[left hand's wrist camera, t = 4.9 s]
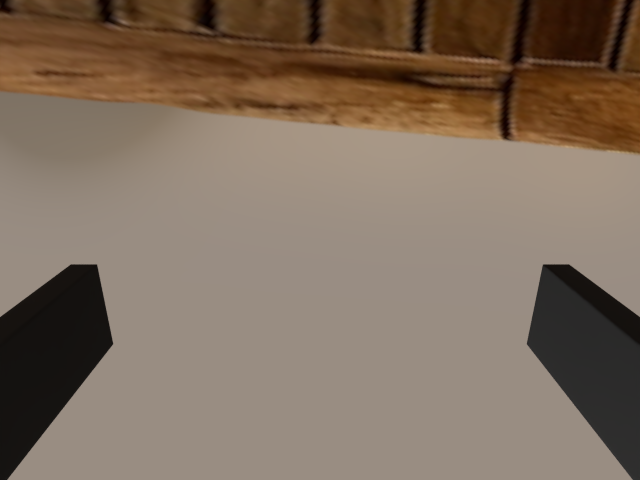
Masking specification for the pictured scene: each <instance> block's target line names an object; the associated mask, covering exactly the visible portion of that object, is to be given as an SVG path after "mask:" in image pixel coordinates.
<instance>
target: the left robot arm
mask: <svg viewBox="0 0 640 480" xmlns="http://www.w3.org/2000/svg"><path fill="white" fill-rule="evenodd" d="M112 345H113V341H112V336H111V331H110V326H109V321H108V316H107V311H106V306H105V302H104V297H103V292H102V287H101V282H100V277H99V272H98V267H97V265H70V266H68V267H67V268H66V269H64V270H63V271H62V272H60V273H59V274H58V275H56V276H55V277H54V278H52V279H51V280H50V281H48V282H47V283H45V284H44V285H43V286H41V287H40V288H39V289H37V290H36V291H35V292H33V293H32V294H31V295H29V296H28V297H27V298H25V299H24V300H23V301H21V302H20V303H19V304H17V305H16V306H15V307H13V308H12V309H11V310H9V311H8V312H7V313H5V314H4V315H2V316H1V317H0V480H7V479H8V478H9V477H10V475H11V474H12V473H13V472H14V470H15V469H16V468H17V466H18V465H19V464H20V463H21V461H22V460H23V459H24V457H25V456H26V455H27V454H28V452H29V451H30V450H31V448H32V447H33V446H34V445H35V443H36V442H37V441H38V439H39V438H40V437H41V436H42V434H43V433H44V432H45V431H46V429H47V428H48V427H49V425H50V424H51V423H52V422H53V420H54V419H55V418H56V417H57V415H58V414H59V413H60V411H61V410H62V409H63V408H64V406H65V405H66V404H67V402H68V401H69V400H70V399H71V397H72V396H73V395H74V393H75V392H76V391H77V390H78V388H79V387H80V386H81V385H82V383H83V382H84V381H85V379H86V378H87V377H88V376H89V374H90V373H91V372H92V370H93V369H94V368H95V367H96V365H97V364H98V363H99V361H100V360H101V359H102V358H103V356H104V355H105V354H106V353H107V351H108V350H109V349H110V347H111V346H112ZM527 345H528V346H529V347H530V349H531V350H532V351H533V353H534V354H535V355H536V356H537V358H538V359H539V360H540V361H541V363H542V364H543V365H544V367H545V368H546V369H547V370H548V372H549V373H550V374H551V376H552V377H553V378H554V379H555V381H556V382H557V383H558V384H559V386H560V387H561V388H562V390H563V391H564V392H565V393H566V395H567V396H568V397H569V399H570V400H571V401H572V402H573V404H574V405H575V406H576V408H577V409H578V410H579V411H580V413H581V414H582V415H583V417H584V418H585V419H586V420H587V422H588V423H589V424H590V425H591V427H592V428H593V429H594V431H595V432H596V433H597V434H598V436H599V437H600V438H601V440H602V441H603V442H604V443H605V445H606V446H607V447H608V448H609V450H610V451H611V452H612V454H613V455H614V456H615V457H616V459H617V460H618V461H619V463H620V464H621V465H622V466H623V468H624V469H625V470H626V471H627V473H628V474H629V475H630V477H631V478H632V479H633V480H640V317H639V316H638V315H636V314H635V313H634V312H632V311H631V310H630V309H628V308H627V307H625V306H624V305H623V304H621V303H620V302H619V301H617V300H616V299H615V298H613V297H612V296H611V295H609V294H608V293H607V292H605V291H604V290H603V289H601V288H600V287H599V286H597V285H596V284H595V283H593V282H592V281H591V280H589V279H588V278H586V277H585V276H584V275H582V274H581V273H580V272H578V271H577V270H576V269H574V268H573V267H572V266H570V265H543V267H542V272H541V277H540V282H539V287H538V292H537V297H536V301H535V307H534V312H533V316H532V321H531V326H530V331H529V336H528V341H527Z"/></svg>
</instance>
